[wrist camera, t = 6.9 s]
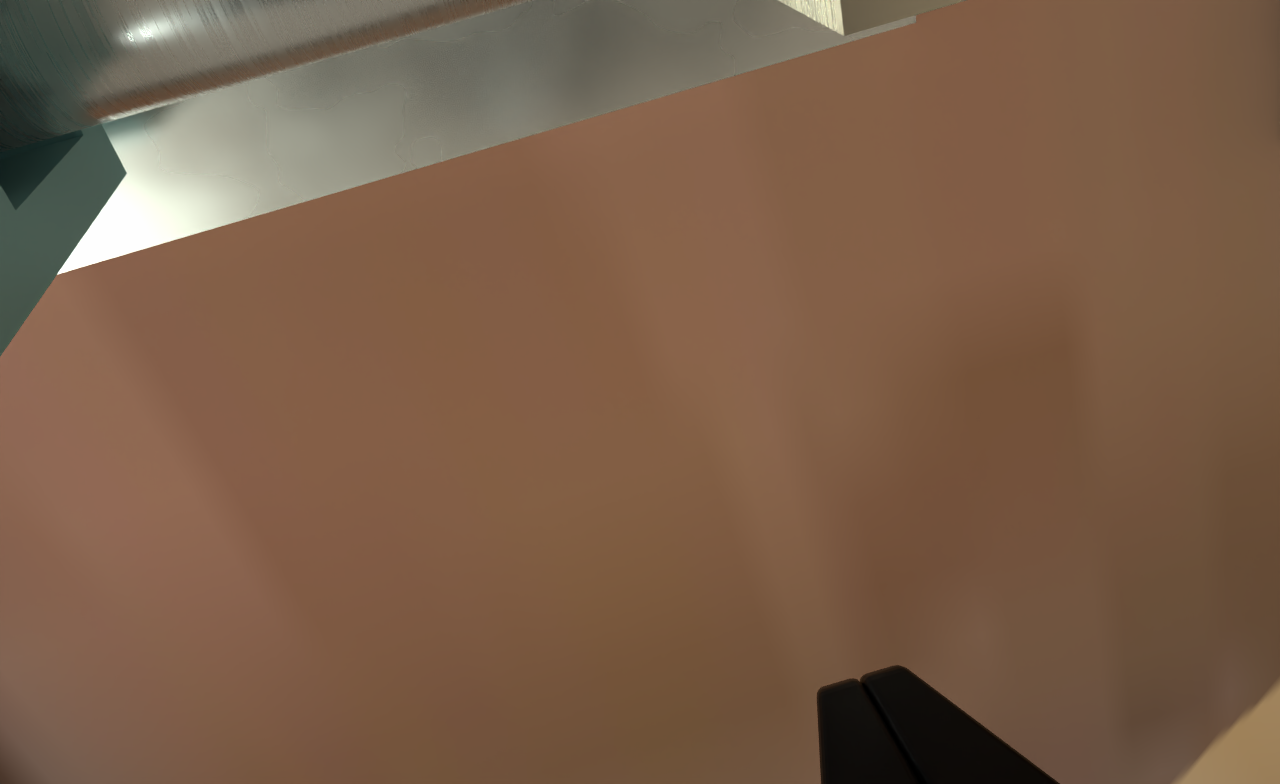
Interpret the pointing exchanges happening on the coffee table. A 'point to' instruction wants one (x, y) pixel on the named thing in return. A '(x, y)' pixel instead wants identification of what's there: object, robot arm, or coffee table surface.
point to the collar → (48, 213)
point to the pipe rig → (358, 86)
